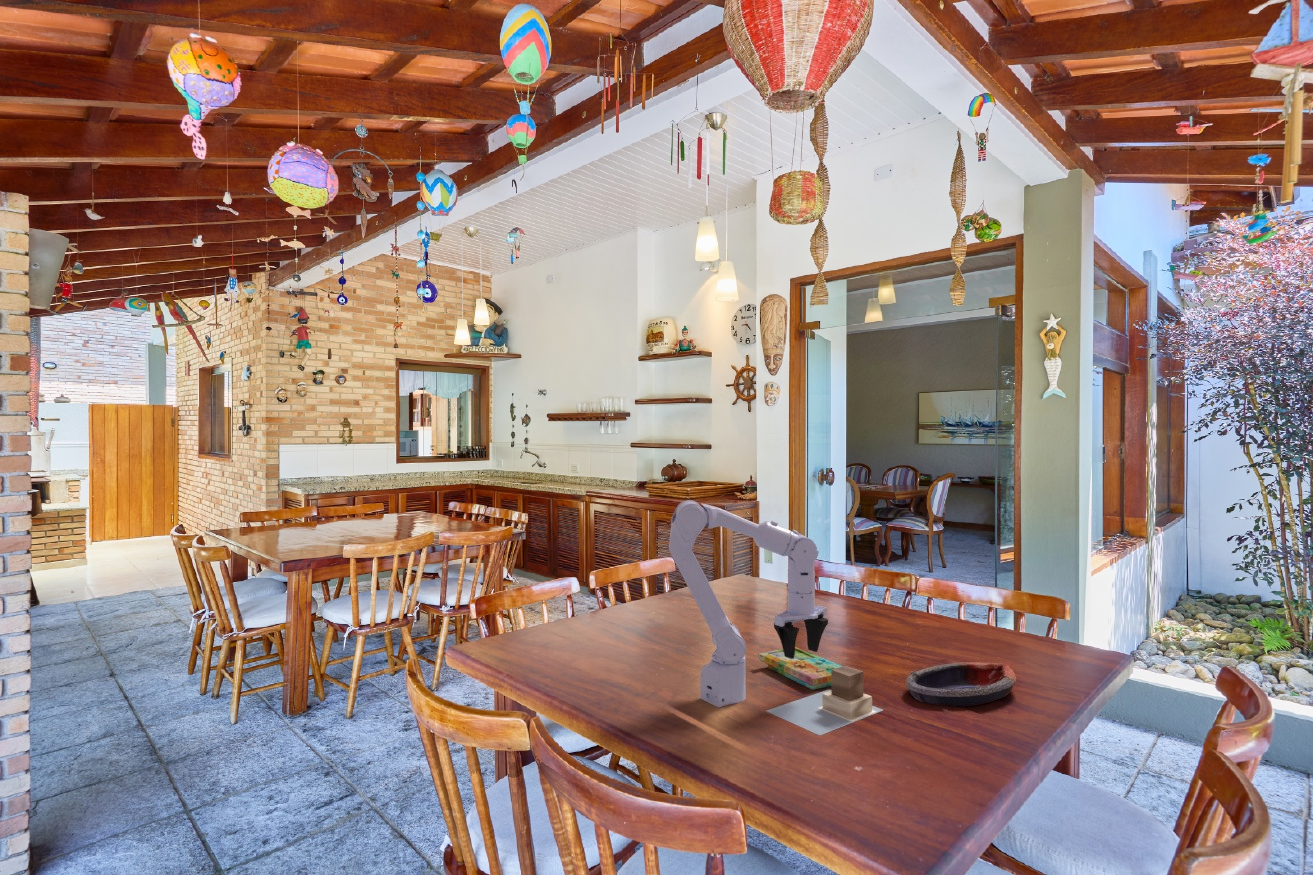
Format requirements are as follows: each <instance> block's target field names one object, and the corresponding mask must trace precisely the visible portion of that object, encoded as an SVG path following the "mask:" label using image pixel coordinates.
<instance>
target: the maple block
mask: <svg viewBox="0 0 1313 875" xmlns="http://www.w3.org/2000/svg"><path fill="white" fill-rule="evenodd" d="M872 706H873V696H872V695H869V694H868V693H867V694H866V693H864V692H863V696H862V697H860V698H857V699H854V700H851V701H848V700H845V699H843V698H840V697H838V696H835V695H832V691H829V692H826V693H823V694H822V708H823V709H826V710H828V711H831V712H833V713H835V714H838V715H840V716H843V717H845V718H848V719H850V720H851V719H854V718H856V717H859V716H861V715H864V714H866V713H869V712H871V711H872Z"/></svg>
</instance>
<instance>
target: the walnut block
mask: <svg viewBox="0 0 1313 875" xmlns="http://www.w3.org/2000/svg"><path fill="white" fill-rule="evenodd" d="M841 666H842V667H839V668H836V669H833V670H831V683H832V686H831V690H832V695H835V696H838V697H840V698H843V699H845V700H848V701H851V700H854V699H857V698H860V697H862V696H863V693H864V671H863V670H861V669H860V670H859V669H857V668H855V667H852V666H851V667H850V666H848V665H841Z"/></svg>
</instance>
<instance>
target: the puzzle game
mask: <svg viewBox="0 0 1313 875" xmlns="http://www.w3.org/2000/svg"><path fill="white" fill-rule="evenodd" d="M757 655H758V656H757V658H758V660H759V661H760V662H763V663H765V664H766V665H767V666H768V667H767V668H768V669H769V670H771V671H774V672H776V673H777V674H779V675H781V676H783V677H786V678H788V679H790V680H792V681H794V682H796V683H798V684H800V685H802V686H803V687H806V688H807V689H810V690H818V689H823V688H827V687H832V683H831V670H833V669H836V668H839V667H842V666H843V665H841V664H838V663H836V662H834V661H831V660H829V659H826V658H824V657H821V656H819V655H817V654H814V653H812V652H809V651H806V650H804V649H802V648H799V647H797V646H795V655H794V658H793V659H790V658H788V657H785V655H784V651H783V648H782V649H776V650H775V649H774V650H770V651H765V652H760V653H758V654H757Z"/></svg>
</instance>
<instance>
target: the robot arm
mask: <svg viewBox="0 0 1313 875" xmlns="http://www.w3.org/2000/svg"><path fill="white" fill-rule="evenodd" d="M670 522H671V523H670V532H669V541H668V550H669V554H670V556H671V557H672V559H673V561H674V563H675V564H676V567H677V569H678V570H679V573H680V574H681V577H682V578H683V580H684V582H685V584H686V586H687V588H688V589H689V592H690V593H691V596H692V597H693V599H694V601H695V603H696V605H697V607H698V608H699V611H700V612H701V614H702V616H703V618H704V620H705V622H706V624H707V626H708V628H709V630H710V632H711V640H712V643H713V645H714V646H715V650H714V651H713V653H712V654H711V659H710V661H709V662H708V663H707V664H704V665H703V666H702V668H701V669H700V700H702V701H705V702H706V703H708V704H711V705H712V706H714V707H717V708H721V707H724V706H728V705H733V704H739V703H742V702H744V701H745V700H746V654H747V645H746V644H747V643H746V641H745V639H744V638H743V637H742V636H741V633H740V630H739V628H738V626H736V625H735V624H733V623H732V622H731V621H730V620H729V618H728V616H727V615H726V613H725V611H724V609H723V607H722V606H721V603H720V601H719V600H718V598H717V596H716V594H715V592H714V590H713V588H712V586H711V584H710V582H709V580H708V578H707V576H706V575H705V572H704V570H703V569H702V567H701V564H700V563H699V561H698V559H697V557H696V555H695V554H694V552H693V547H694V545H695V542H696V540H697V537H698V536H699V535H700V533H702V531H704V528H705V527H706V528H707V529H708V530H709V529H713V528H716V527H717V528H718V527H723V528H725V529H728V530H730V531H732V532H736V533H739V534H742V535H744V536H747V537H749V538H753V541H754V543H755V545H756V546H757V547H759V548H762V549H764V550H767V551H769V552H772V553H774V554H777V555H779V556H782V557H788V562H787V563H788V565H787V566H788V567H787V610H784V611H782V612H781V613H779V614H776V615H774V622H773V628H774V629H775V632H776V633H777V635H778V637H779V638H778V639H779V640H780V642H781V646H782V649H783V651H784V655H785V657H788V658H790V659H793V658H794V655H795V647H796V642H797V641H796V640H797V637H798V633H799V631H800V628H799V627H796V626H794V623H798V622H802V621H803V622H804V625H805V630H806V631H805V632H806V642H807V648H808V650H809V651H811V652H814V653H817V652H818V651H819V648H820V644H821V640H822V637H823V633H824V631H825V629H826V628H827V626H828V624H829V619H828V618H826V617H827V611H828V610H827V607H825V606H822V605H817V606H816V605H815V604H816V603H815V602H816V600H815V597H816V595H815V594H816V591H815V590H816V588H815V587H816V586H815V584H816V582H815V580H816V578H815V577H816V571H815V562H816V560H817V558H818V557H819V552H820V550H818V547H817V545H816V543H815V542H814V541H813V540H812V539H811V538H809V537H807V536H805V535H803V534H802V533H799V531H797V530H795V529H792V531H791V530H789V529H787V528H784V527H781V526H779V523H778V522H776V521H774V520H771V521H763V522H761V523H756V522H753V521H750V520H749V519H745V517H744V518H743V517H742V516H738V515H737V514H734V513H733V512H731V511H730V512H729V511H728V510H725V509H722V508H720V507H717V506H714V505H710V504H707V503H700V504H699V503H698V502H697V501H695V500H692V499H687V500H683V501H681V502H680V503H679V504H677V506H676V508H675V509H674V512H673V514H672V515H671V521H670Z"/></svg>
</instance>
